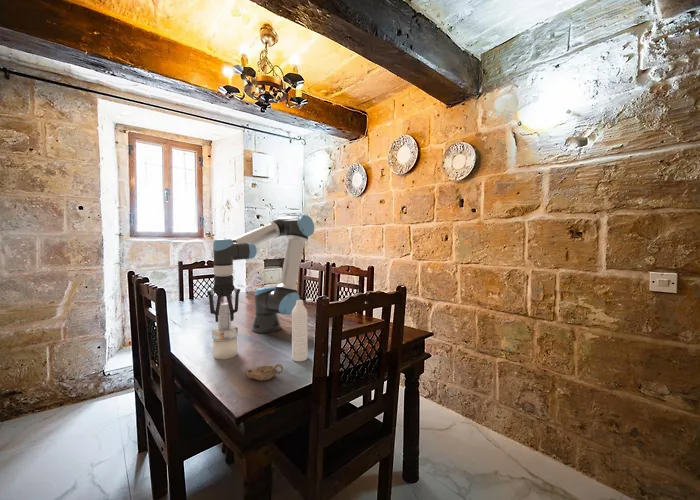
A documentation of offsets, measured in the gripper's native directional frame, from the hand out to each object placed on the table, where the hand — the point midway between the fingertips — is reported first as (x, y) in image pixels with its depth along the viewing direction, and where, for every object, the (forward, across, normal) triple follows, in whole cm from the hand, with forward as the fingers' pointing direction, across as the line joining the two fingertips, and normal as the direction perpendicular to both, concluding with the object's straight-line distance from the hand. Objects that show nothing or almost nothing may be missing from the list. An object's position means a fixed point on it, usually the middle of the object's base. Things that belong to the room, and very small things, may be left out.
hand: (224, 328), depth 133 cm
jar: (+12, 0, 0) cm, 12 cm away
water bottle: (+12, -32, +12) cm, 36 cm away
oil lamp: (+12, -17, +26) cm, 33 cm away
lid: (+3, 0, +1) cm, 3 cm away
